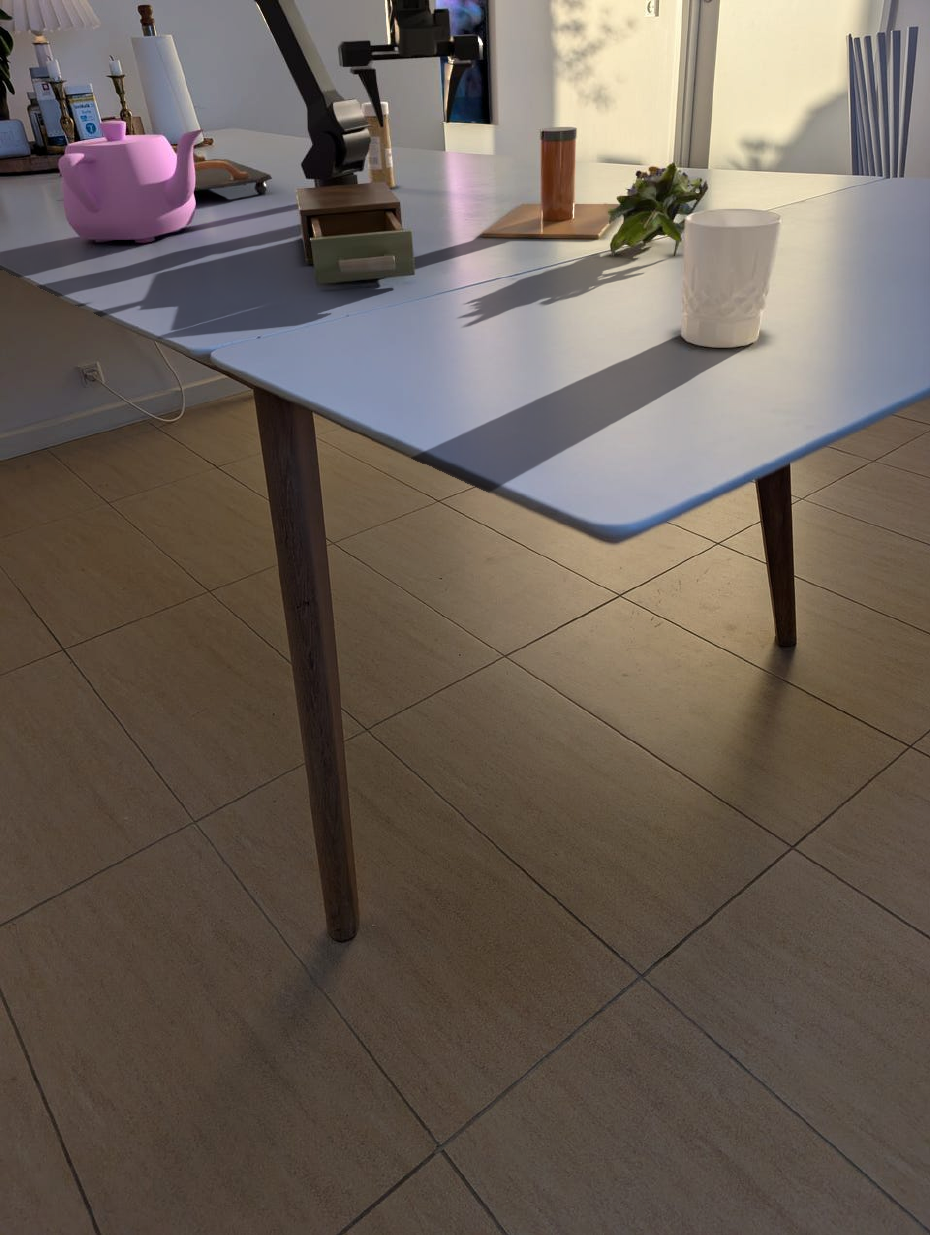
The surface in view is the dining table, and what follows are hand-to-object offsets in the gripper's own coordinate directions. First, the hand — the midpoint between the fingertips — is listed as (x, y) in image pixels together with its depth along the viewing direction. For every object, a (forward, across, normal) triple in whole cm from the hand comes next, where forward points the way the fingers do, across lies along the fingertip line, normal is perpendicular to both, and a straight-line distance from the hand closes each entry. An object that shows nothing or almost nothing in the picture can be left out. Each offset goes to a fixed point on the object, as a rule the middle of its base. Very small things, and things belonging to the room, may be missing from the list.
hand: (414, 124), depth 123 cm
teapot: (+13, -41, +11) cm, 44 cm away
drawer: (+12, -12, -28) cm, 32 cm away
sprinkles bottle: (+13, -1, +37) cm, 39 cm away
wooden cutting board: (+13, +19, -7) cm, 24 cm away
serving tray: (+14, -36, +54) cm, 66 cm away
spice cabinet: (+13, -11, -11) cm, 20 cm away
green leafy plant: (+13, +25, -30) cm, 41 cm away
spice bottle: (+12, +19, -7) cm, 23 cm away
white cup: (+12, +17, -64) cm, 68 cm away
